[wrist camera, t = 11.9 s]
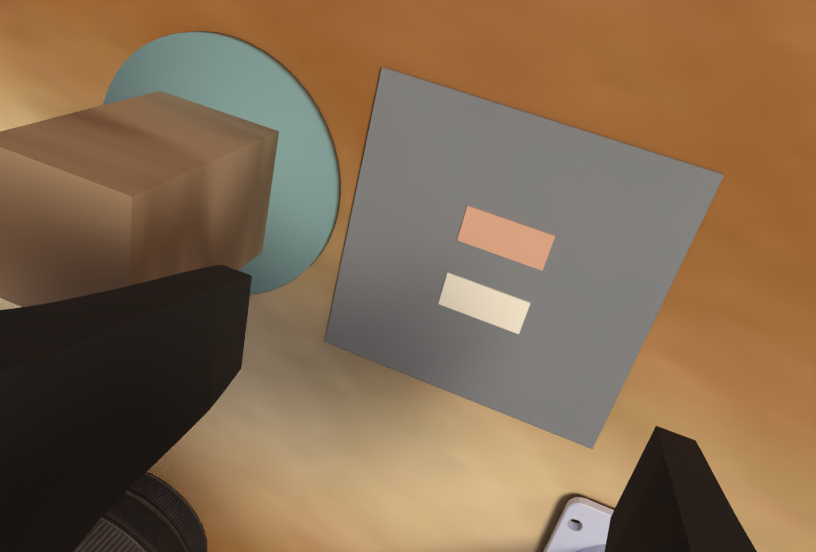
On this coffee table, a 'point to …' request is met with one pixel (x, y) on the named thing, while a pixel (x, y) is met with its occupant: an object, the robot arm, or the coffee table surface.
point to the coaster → (262, 104)
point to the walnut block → (129, 196)
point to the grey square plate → (509, 253)
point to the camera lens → (147, 522)
